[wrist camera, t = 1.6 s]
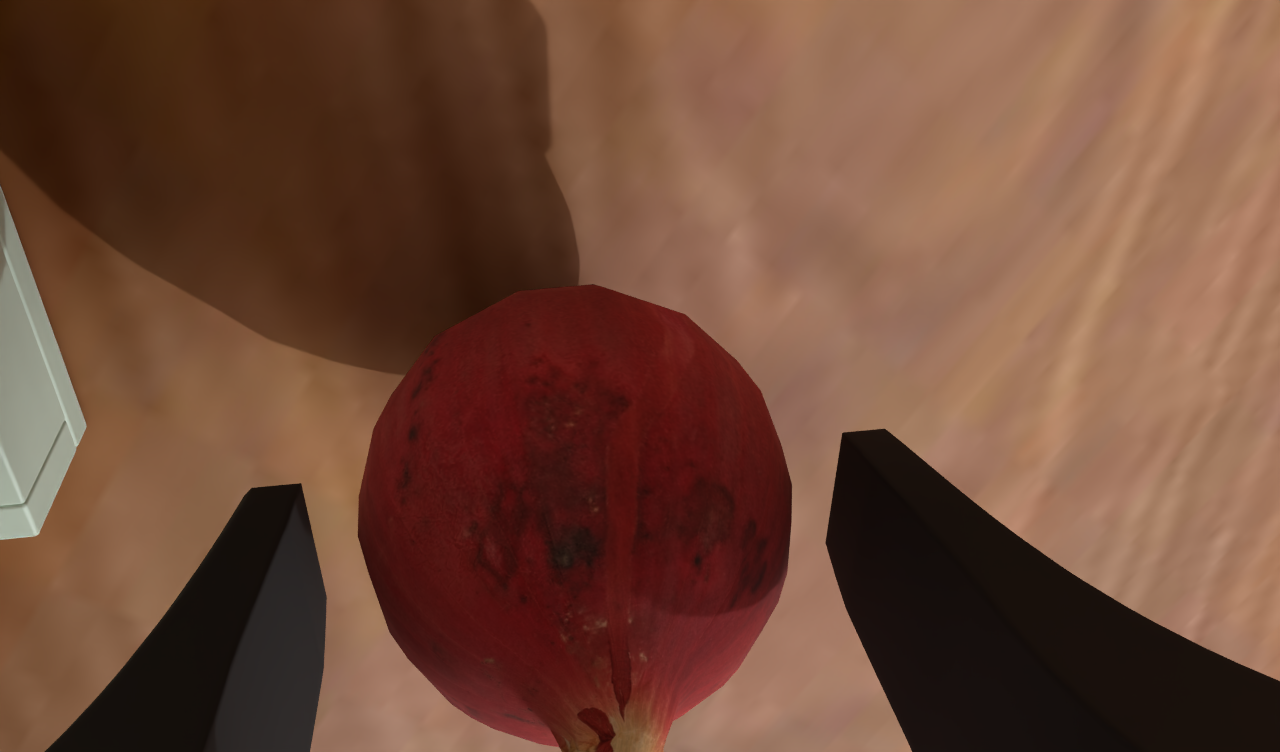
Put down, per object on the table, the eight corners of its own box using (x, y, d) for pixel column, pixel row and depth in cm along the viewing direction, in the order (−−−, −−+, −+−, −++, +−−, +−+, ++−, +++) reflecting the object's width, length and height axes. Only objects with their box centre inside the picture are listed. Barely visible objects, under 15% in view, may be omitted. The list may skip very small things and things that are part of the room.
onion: (339, 216, 15) (271, 625, 9) (723, 175, 16) (923, 529, 9) (405, 512, 19) (391, 969, 12) (721, 469, 19) (869, 880, 13)
